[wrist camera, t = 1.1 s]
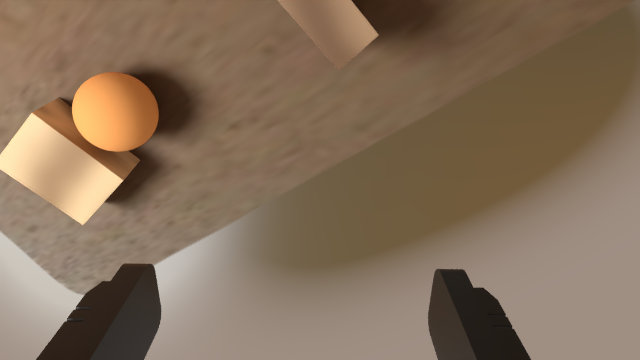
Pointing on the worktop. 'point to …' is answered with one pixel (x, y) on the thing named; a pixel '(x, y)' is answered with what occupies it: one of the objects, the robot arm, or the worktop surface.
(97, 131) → the ball
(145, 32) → the worktop surface
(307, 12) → the bridge
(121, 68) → the worktop surface
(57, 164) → the block
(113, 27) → the worktop surface
